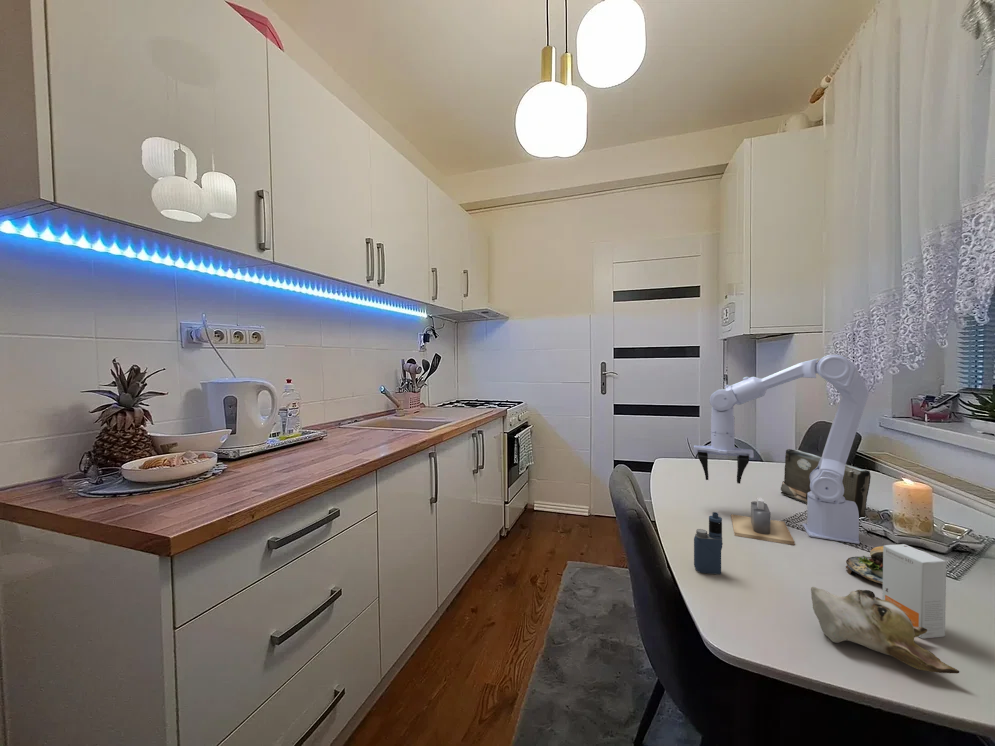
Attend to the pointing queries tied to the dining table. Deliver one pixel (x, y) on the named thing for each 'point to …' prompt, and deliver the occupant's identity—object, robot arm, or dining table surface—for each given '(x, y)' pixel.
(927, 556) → the skincare box
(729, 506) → the dining table surface
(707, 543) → the vaping device
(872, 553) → the burger
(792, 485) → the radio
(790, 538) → the oak board
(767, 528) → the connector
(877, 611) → the ceramic sculpture
